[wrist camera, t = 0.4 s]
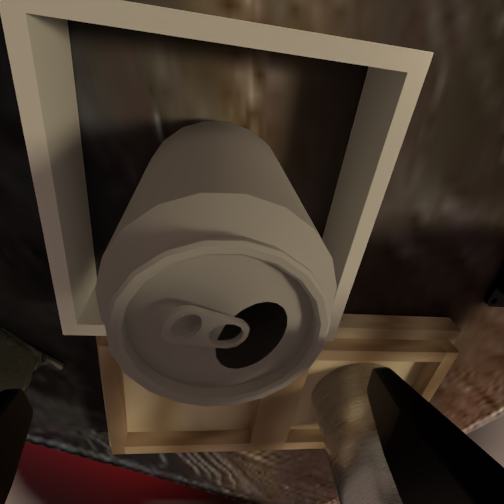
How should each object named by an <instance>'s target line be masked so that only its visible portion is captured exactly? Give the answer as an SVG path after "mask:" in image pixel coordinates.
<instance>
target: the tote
mask: <svg viewBox="0 0 504 504" xmlns="http://www.w3.org/2000/svg"><path fill="white" fill-rule="evenodd" d="M0 15H1V20H2V25H3V30H4V36H5V41H6V46H7V51H8V56H9V61H10V66H11V71H12V77H13V82H14V87H15V92H16V97H17V102H18V107H19V112H20V117H21V123H22V128H23V133H24V138H25V143H26V148H27V153H28V158H29V163H30V169H31V174H32V179H33V184H34V189H35V194H36V199H37V204H38V210H39V215H40V220H41V225H42V230H43V235H44V240H45V245H46V250H47V256H48V261H49V266H50V271H51V276H52V281H53V286H54V291H55V297H56V302H57V307H58V312H59V317H60V322H61V327H62V332H63V335H89V336H107V335H106V330H105V325H104V323H103V322H102V320H101V317H100V312H99V307H98V302H97V297H96V292H95V287H96V282H97V274H96V265H95V257H94V248H93V239H92V230H91V222H90V213H89V204H88V196H87V187H86V178H85V169H84V161H83V152H82V143H81V134H80V126H79V117H78V108H77V99H76V91H75V82H74V73H73V65H72V56H71V47H70V38H69V30H68V21H67V20H73V21H80V22H86V23H92V24H99V25H105V26H112V27H118V28H125V29H131V30H138V31H144V32H150V33H157V34H163V35H170V36H176V37H183V38H189V39H195V40H202V41H208V42H215V43H221V44H228V45H234V46H241V47H247V48H253V49H260V50H266V51H273V52H279V53H286V54H292V55H298V56H305V57H311V58H318V59H324V60H331V61H337V62H344V63H350V64H356V65H363V66H369V67H368V71H367V75H366V78H365V82H364V86H363V89H362V93H361V97H360V100H359V104H358V108H357V111H356V115H355V119H354V123H353V126H352V130H351V134H350V137H349V141H348V145H347V148H346V152H345V156H344V160H343V163H342V167H341V171H340V174H339V178H338V182H337V185H336V189H335V193H334V197H333V200H332V204H331V208H330V211H329V215H328V219H327V222H326V226H325V230H324V234H323V237H322V240H323V242H324V244H325V246H326V248H327V249H328V251H329V253H330V255H331V256H332V258H333V265H334V272H335V278H336V285H337V289H336V293H335V298H334V302H333V306H332V310H331V314H330V318H331V323H330V327H329V331H328V335H327V339H326V341H333V340H334V337H335V334H336V332H337V329H338V326H339V323H340V320H341V317H342V314H343V312H344V309H345V306H346V303H347V300H348V297H349V294H350V291H351V289H352V286H353V283H354V280H355V277H356V274H357V271H358V269H359V266H360V263H361V260H362V257H363V254H364V251H365V248H366V246H367V243H368V240H369V237H370V234H371V231H372V228H373V226H374V223H375V220H376V217H377V214H378V211H379V208H380V205H381V203H382V200H383V197H384V194H385V191H386V188H387V185H388V183H389V180H390V177H391V174H392V171H393V168H394V165H395V163H396V160H397V157H398V154H399V151H400V148H401V145H402V142H403V140H404V137H405V134H406V131H407V128H408V125H409V122H410V120H411V117H412V114H413V111H414V108H415V105H416V102H417V99H418V97H419V94H420V91H421V88H422V85H423V82H424V79H425V77H426V74H427V71H428V68H429V65H430V62H431V59H432V56H433V54H434V52H428V51H422V50H416V49H410V48H404V47H398V46H392V45H386V44H380V43H374V42H368V41H362V40H356V39H350V38H344V37H338V36H332V35H326V34H320V33H314V32H308V31H302V30H296V29H290V28H284V27H278V26H272V25H266V24H260V23H254V22H248V21H242V20H236V19H230V18H224V17H218V16H212V15H206V14H200V13H194V12H188V11H182V10H177V9H171V8H165V7H159V6H153V5H147V4H141V3H135V2H129V1H123V0H0Z"/></svg>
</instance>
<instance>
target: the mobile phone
mask: <svg viewBox="0 0 504 504" xmlns="http://www.w3.org/2000/svg"><path fill="white" fill-rule="evenodd" d="M40 366H47V367H49V368H51V369H53V370H55V371H57V372H59V371H61V370H62V368H63V367H64V364H63V363H62V362H60V361H58V360H56V359H54V358H52V357H51V356H49V355H47V354H45V353H43V352H41V351H40V350H38V349H36V348H34V347H32V346H31V345H29V344H27V343H25V342H24V341H22V340H21V339H20V338H18V337H17V336H15V335H14V334H12V333H10V332H9V331H7V330H5V329H3V328H2V327H0V392H1V391H2V390H5V389H14V388H21V389H23V390H24V392H26V390H27V389H28V387H29V385H30V383H31V381H32V379H33V376H34V374H35V372H36V370H37V369H38V368H39V367H40Z"/></svg>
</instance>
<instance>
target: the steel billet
mask: <svg viewBox="0 0 504 504" xmlns="http://www.w3.org/2000/svg"><path fill="white" fill-rule="evenodd" d="M376 367H384V366H382V365H379V364H375V363H354V364H350V365H346V366H343V367H340V368H338V369H336V370H334V371H332V372H330V373H329V374H327V375H326V376H324V377H323V378H322V379H321V380H320V381H319V382H318V383H317V384H316V386H315V388H314V389H313V392H312V396H311V400H312V405H313V408H314V412H315V415H316V419H317V423H318V426H319V430H320V433H321V437H322V441H323V444H324V448H325V451H326V455H327V458H328V462H329V466H330V469H331V473H332V476H333V480H334V483H335V487H336V491H337V494H338V498H339V501H340V504H403V503H402V501H401V498H400V496H399V493H398V490H397V488H396V485H395V483H394V480H393V477H392V475H391V472H390V470H389V467H388V464H387V462H386V459H385V456H384V453H383V450H382V447H381V443H380V439H379V436H378V432H377V428H376V425H375V421H374V417H373V414H372V410H371V406H370V403H369V399H368V395H367V386H368V382H369V379H370V375H371V372H372V370H373V369H374V368H376Z"/></svg>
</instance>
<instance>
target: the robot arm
mask: <svg viewBox="0 0 504 504" xmlns="http://www.w3.org/2000/svg"><path fill="white" fill-rule="evenodd" d="M484 302H485V303H486V304H487V305H489V306H495V307H504V266H503V268H502V269H501V271H500V273H499V274H498V276H497V278H496V279H495V281H494V283H493V284H492V286H491V288H490V289H489V291H488V293H487V294H486V296H485V298H484ZM367 395H368V399H369V403H370V406H371V410H372V414H373V417H374V421H375V425H376V428H377V432H378V436H379V439H380V443H381V447H382V450H383V453H384V456H385V459H386V462H387V464H388V467H389V470H390V472H391V475H392V477H393V480H394V483H395V485H396V488H397V490H398V493H399V496H400V498H401V501H402V503H403V504H504V468H503V467H502V466H501V465H500V464H499V463H498V462H497V461H495V460H494V459H493V458H492V457H491V456H489V454H487V453H486V452H485V451H484V450H483V449H482V448H481V447H479V446H478V445H477V444H476V443H475V442H474V441H473V440H471V439H470V438H469V437H468V436H467V435H466V434H465V433H463V432H462V431H461V430H460V429H459V428H458V427H457V426H456V425H454V424H453V423H452V422H451V421H450V420H449V419H448V418H446V417H445V416H444V415H443V414H442V413H441V412H440V411H438V410H437V409H436V408H435V407H434V406H433V405H432V404H430V403H429V402H428V401H427V400H426V399H425V398H424V397H422V396H421V395H420V394H419V393H418V392H417V391H416V390H414V389H413V388H412V387H411V386H410V385H409V384H408V383H407V382H405V381H404V380H403V379H402V378H401V377H400V376H399V375H397V374H396V373H395V372H394V371H393V370H392V369H390V368H388V367H376V368H374V369H373V370H372V372H371V375H370V379H369V382H368V386H367ZM32 417H33V408H32V406H31V404H30V402H29V400H28V398H27V396H26V394H25V392H24V390H23V389H21V388H14V389H5V390H2V391H1V392H0V504H5V501H6V499H7V496H8V494H9V491H10V489H11V486H12V483H13V480H14V477H15V474H16V471H17V468H18V464H19V461H20V458H21V455H22V451H23V448H24V445H25V441H26V438H27V435H28V431H29V428H30V424H31V421H32Z"/></svg>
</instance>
